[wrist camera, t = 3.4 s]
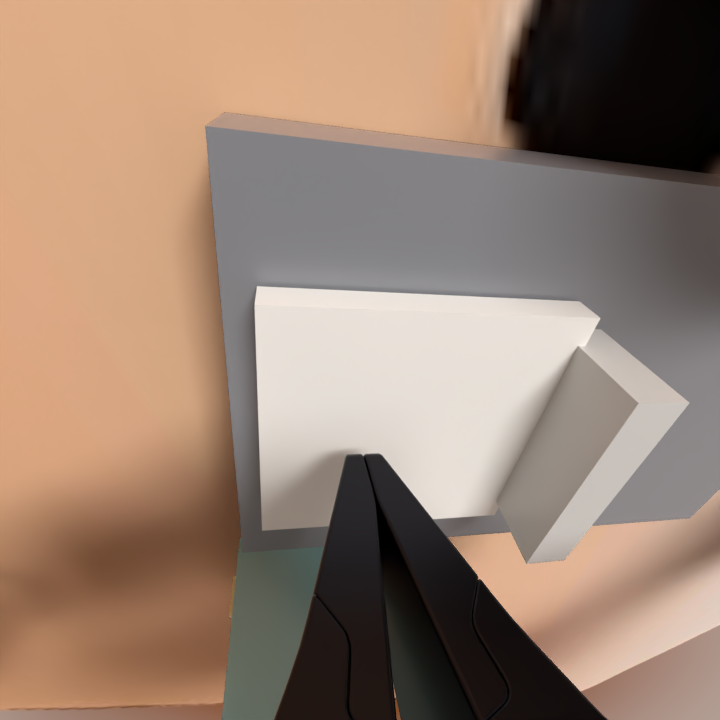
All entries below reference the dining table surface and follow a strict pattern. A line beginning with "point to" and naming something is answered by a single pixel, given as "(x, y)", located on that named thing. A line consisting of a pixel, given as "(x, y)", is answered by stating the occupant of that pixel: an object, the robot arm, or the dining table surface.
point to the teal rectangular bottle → (266, 627)
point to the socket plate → (474, 270)
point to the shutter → (452, 407)
